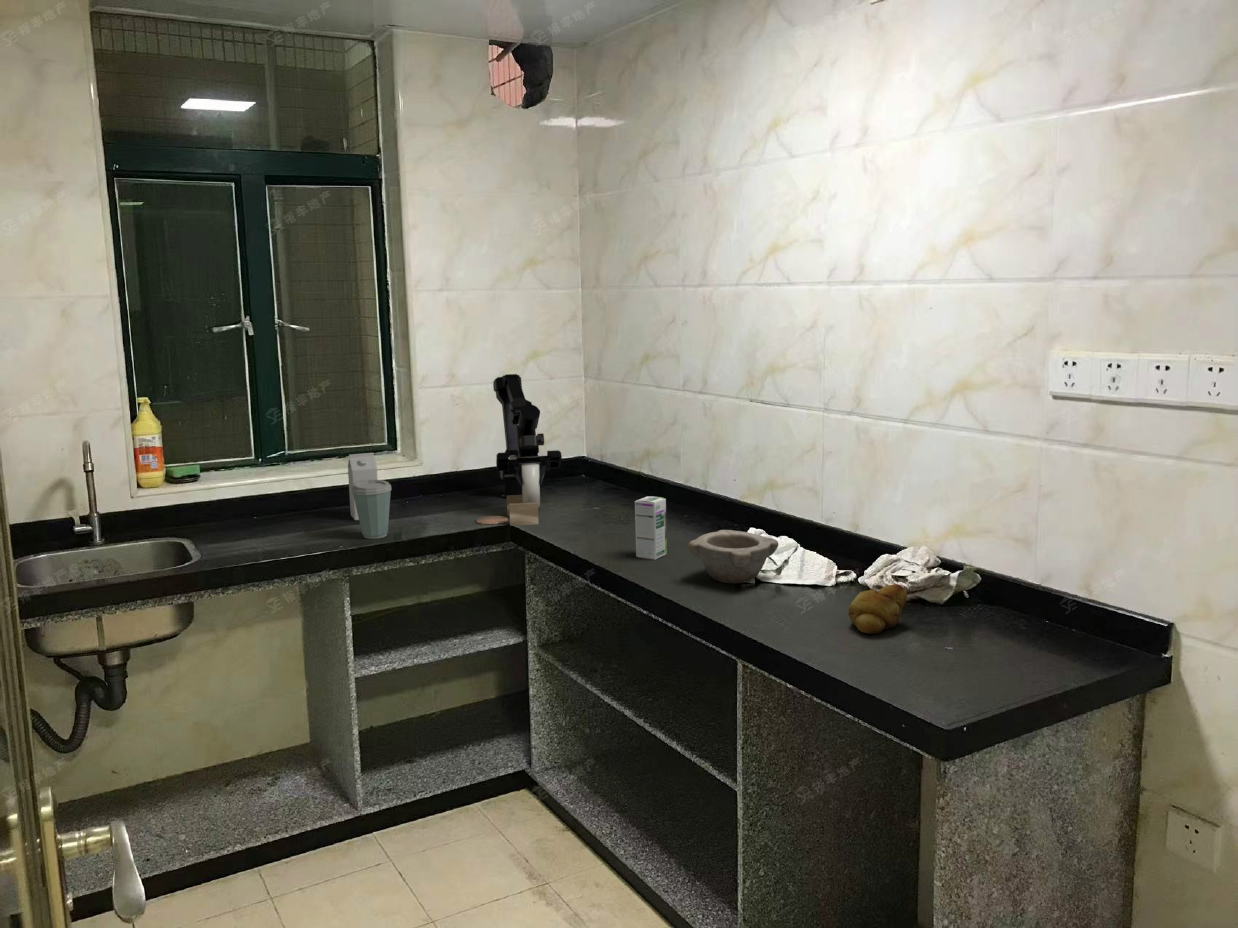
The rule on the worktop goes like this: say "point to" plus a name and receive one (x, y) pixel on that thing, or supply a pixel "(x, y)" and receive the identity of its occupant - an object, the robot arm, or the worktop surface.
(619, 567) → the worktop surface
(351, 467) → the milk carton
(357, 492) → the disposable coffee cup
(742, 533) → the mortar
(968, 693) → the worktop surface
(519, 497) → the wall
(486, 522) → the pad
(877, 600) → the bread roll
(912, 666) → the worktop surface
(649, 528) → the syrup box
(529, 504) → the outer gate wall
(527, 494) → the white cylinder
